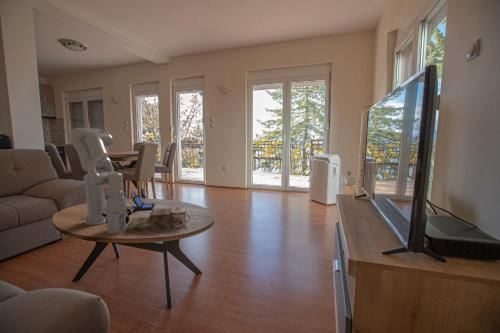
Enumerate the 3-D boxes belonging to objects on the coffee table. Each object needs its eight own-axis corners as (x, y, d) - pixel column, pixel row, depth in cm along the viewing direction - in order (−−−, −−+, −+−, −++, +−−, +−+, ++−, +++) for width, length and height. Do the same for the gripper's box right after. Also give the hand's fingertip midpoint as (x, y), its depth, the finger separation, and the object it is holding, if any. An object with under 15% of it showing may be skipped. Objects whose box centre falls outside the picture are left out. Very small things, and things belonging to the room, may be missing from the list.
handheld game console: (152, 210, 174) (151, 198, 173) (132, 211, 171) (131, 199, 170) (155, 204, 189) (154, 193, 188) (137, 205, 186) (136, 194, 185)
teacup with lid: (168, 227, 140) (167, 208, 139) (174, 222, 149) (174, 204, 148) (187, 228, 139) (187, 209, 137) (193, 223, 148) (192, 205, 146)
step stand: (126, 235, 127) (126, 219, 126) (133, 225, 143) (132, 210, 142) (169, 232, 133) (169, 216, 132) (171, 222, 149) (171, 208, 148)
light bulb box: (116, 226, 141) (115, 208, 140) (128, 226, 141) (127, 208, 140) (107, 233, 130) (105, 214, 129) (119, 233, 131) (118, 214, 130)
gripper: (96, 197, 128) (98, 227, 130) (131, 195, 132) (132, 224, 134) (101, 194, 135) (103, 222, 137) (134, 192, 139) (135, 220, 141)
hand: (118, 223), depth 135 cm, fingers open, 9 cm apart
